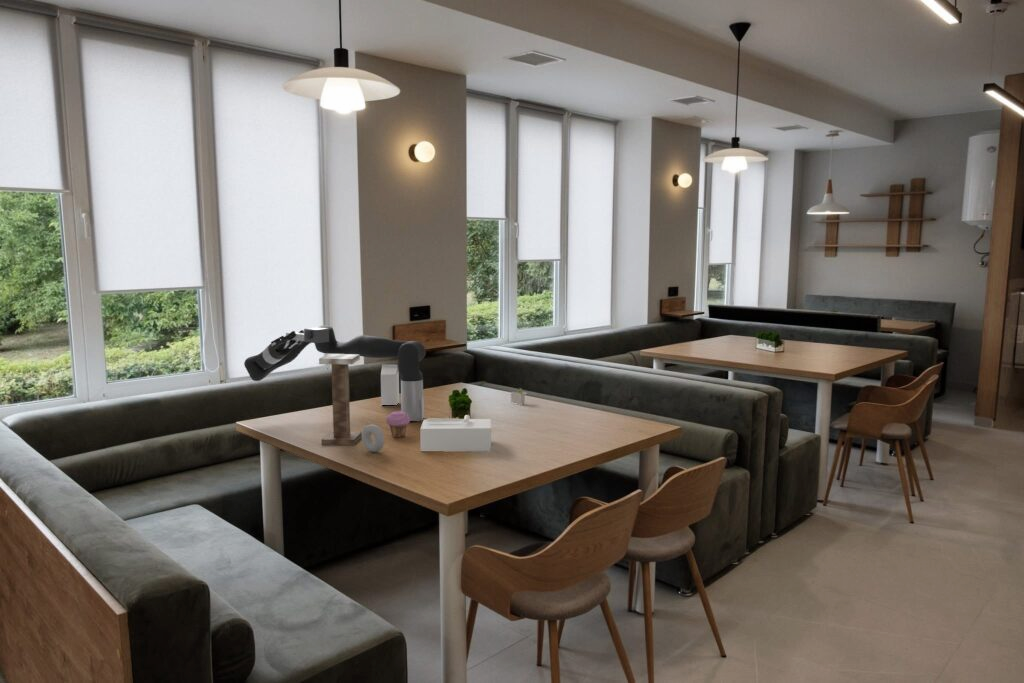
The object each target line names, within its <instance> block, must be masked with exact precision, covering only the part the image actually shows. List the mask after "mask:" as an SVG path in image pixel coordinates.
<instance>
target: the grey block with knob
mask: <svg viewBox="0 0 1024 683" xmlns="http://www.w3.org/2000/svg"><path fill="white" fill-rule="evenodd" d="M317 327H318V326H317ZM317 327H309V328H304V329H303V331H304V333H298V332H296V331H295V333H296V336H295V337H294V338H293V339H292V340H298V341H304V342H310V344H312V343H313V344H315V343H323V342H329V329H327V328H317ZM291 332H292V331H289V332H285V336H286V335H288V334H290V333H291Z"/></svg>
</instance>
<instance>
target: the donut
mask: <svg viewBox="0 0 1024 683" xmlns="http://www.w3.org/2000/svg"><path fill="white" fill-rule="evenodd" d="M361 432H362V437H361V441H362V444H363V446H364V447H365V449H366V450H368V452H372V453H377V452H380V451H381V450H382V449H383V448H384V446H385V441H386V438H385V434H384V432H383V430H382V429H381V427H380V426H378V425H376V424H367V425H366V426H365V427H363V429H362V431H361ZM372 435H373V436H374V441H373V439H372Z"/></svg>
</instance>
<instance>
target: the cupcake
mask: <svg viewBox="0 0 1024 683" xmlns="http://www.w3.org/2000/svg"><path fill="white" fill-rule="evenodd" d="M385 422H386V424H387V425H388V426H389V428H390V433H391V436H392V437H393V438H405V437H406V436H407V425H408V424H410V423H411V422H410V418H409V415H408V414H406V413H405V412H403V411H401V410H397V411H392V412H390V414H388V415H387V417H386V420H385Z"/></svg>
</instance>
